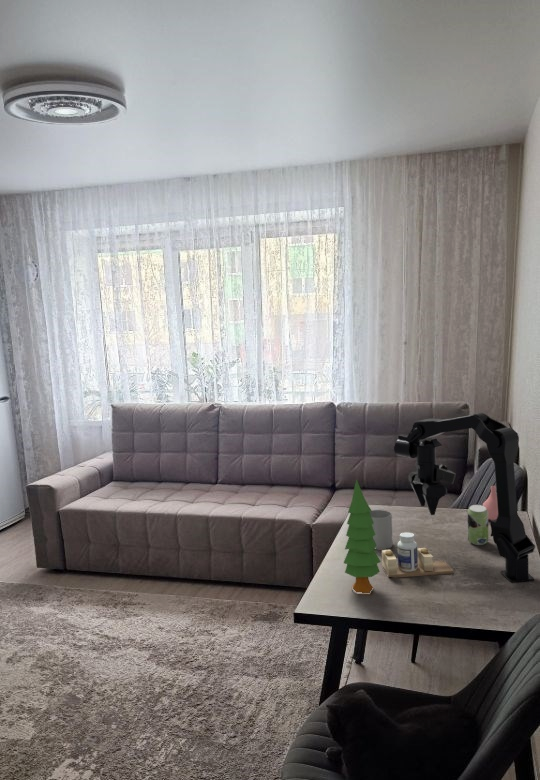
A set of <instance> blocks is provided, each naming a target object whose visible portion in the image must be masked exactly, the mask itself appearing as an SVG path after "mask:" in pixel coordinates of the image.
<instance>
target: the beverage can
mask: <svg viewBox="0 0 540 780" xmlns="http://www.w3.org/2000/svg"><path fill="white" fill-rule="evenodd" d="M467 541H469V542H470V543H471V544H473V545H475V546H476V545H477V546H484V545H485V544H487V543H488V542H489V519H488V511H487V510H486V507H485V506H483V504H482V505H481V504H472V505H470V506H469V507H468V509H467Z"/></svg>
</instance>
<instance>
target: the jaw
mask: <svg viewBox="0 0 540 780" xmlns="http://www.w3.org/2000/svg"><path fill="white" fill-rule="evenodd" d="M417 555H418V564H419V565H420V566H421V567H422V569H423V570H424V571H433V561H434V560H433V558H434V556H433V555H432V554H431V553H430V552H429V549H428V548H426V547H417Z"/></svg>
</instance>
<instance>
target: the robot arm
mask: <svg viewBox="0 0 540 780" xmlns="http://www.w3.org/2000/svg"><path fill="white" fill-rule="evenodd" d="M467 429H468V430H469V429H472V430H474V432H475V434H476V435H477V437H478V438H479V439H480V440H481V441H482V442H484V443H485V444H486V449H487V452H488V455H489V457H490V458H491V459H492V462H493V464H494V476H495V477H494V479H495V486H496V494H497V506H498V516H497V519H495V520H493V521H491V520H490V523H489V525H490V529H491V533H490V537H492V540H493V543H494V545H495V546H496V547H497V551H498V554H499V556H500V557H502V558H503V559H505V561H504V562H505V563H504V565H505V569H502V570H500V571H499V573H500V574H501V575H502V576H503V577H504V578H506V579H507V580H508V581H509V582H511V583H516V582H517V583H518V582H528V581H529V582H530V581H535V577H534V576H533V575H531V574H530V573H529V555H530V554H531V553H534V551H535V548H536V545H535V544H534V543H533V541H532V540H531V538H529V536H528V535H527V533H526V529H525V526H524V523H523V521H522V519H521V517H520V516H519V514H518V507H517V506H518V504H517V503H518V502H517V489H516V478H515V477H516V476H515V463H514V462H515V460H516V457H517V453H518V451H519V442H520V438H519V433H518V431H516V430H514V429H513V428H511V427H508V426H506V425H505V424H504V423H502V422H500V421H498V420H496V419H494V418H492V417H490V416H489V415H488V414H487V413H484V412H477V413H473V414H470V415H464V416H459V417H454V418H453V417H452V418H446V419H442V418H426V419H425V418H424V419H421V420H416V421H414V422H413V424H412V428H411V429H410V431H409V434H408V435H406V434H400V435H399V434H398V436H397V438H398V439H397V440H396V441H395V443H394V446H393V450H394V453H395V455H396V456H398V457H405V458H408V459H409V458H410V459H416V462H414V466H415V467H416V471H411V472H410V473H409V474H408V482H410V483H409V484H410V485H411V489H413V491H414V493H415V496H416V498H417V500H418V502H419V504H420V506H421V507H425V506H427V508H428V511H429V515H430V516H435V514H436V512H437V508H438V503H439V501H440V499H441V498H443V497H445V496H446V495H448V487H447V486H446V485H445V484H443V483H442V482H441V481H444V482H445V483H446V482H448V483H449V484H451V485H453V484H454V482H455V479H456V477H457V476H456V475H457V474H456V473H455V472H454V471H452V470H450V469H448V467H447V465H445V464H442V463H441V464H440V465H439V464H438V463H437V450H436V448H441V447H443V444H442V443H441V442H440V441H438V439H437V438H435V437H437V436H440V435H442V434H444V433H447V432H448V433H449V432H455V431H461V430H467ZM430 438H433V439H431V440H429V439H430ZM426 439H427V440H426Z"/></svg>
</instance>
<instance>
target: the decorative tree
mask: <svg viewBox="0 0 540 780" xmlns="http://www.w3.org/2000/svg"><path fill="white" fill-rule="evenodd" d="M369 511H372V509H371V507H370V506H369V504H368V502H367V500H366V498H365V497H364V494H363V491H362V488H361V487H360V485H359V482H358V479H355V483H354V488H353V494H352V499H351V503H350V505H349V508H348V510H347V513H349V516H348V520H347V523H346V525H348V527H347V531H346V535H345V537H348V539H347V542H346V545H345V548H344V550H348V551H347V553H346V555H345V558H344V561H343V564H345V565H346V568H345V571H344V573H345V574H347V575H349V576H352V577H354V578H355V581H354V583H353V584H352V586H353V589H354V590H355V591H356V592H362V593H370V591H371V590H372V588H374V586H373V585H372V584H371V583H370V580H369V578H373V577H374V576H375V575H377V574H379V573H380V572H381V571H380V568H379V565H378V564H379V563H382V560H380V557H379V556H378V554H377V552H376V549H374V548H375V547H376V546H377V545H376V543H375V541H374V539H373V536H375V535H376V534H375V532H374V529H373V527H372V524H373V523H374V522H373V520H372V517H371V515H370V512H369Z"/></svg>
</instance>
